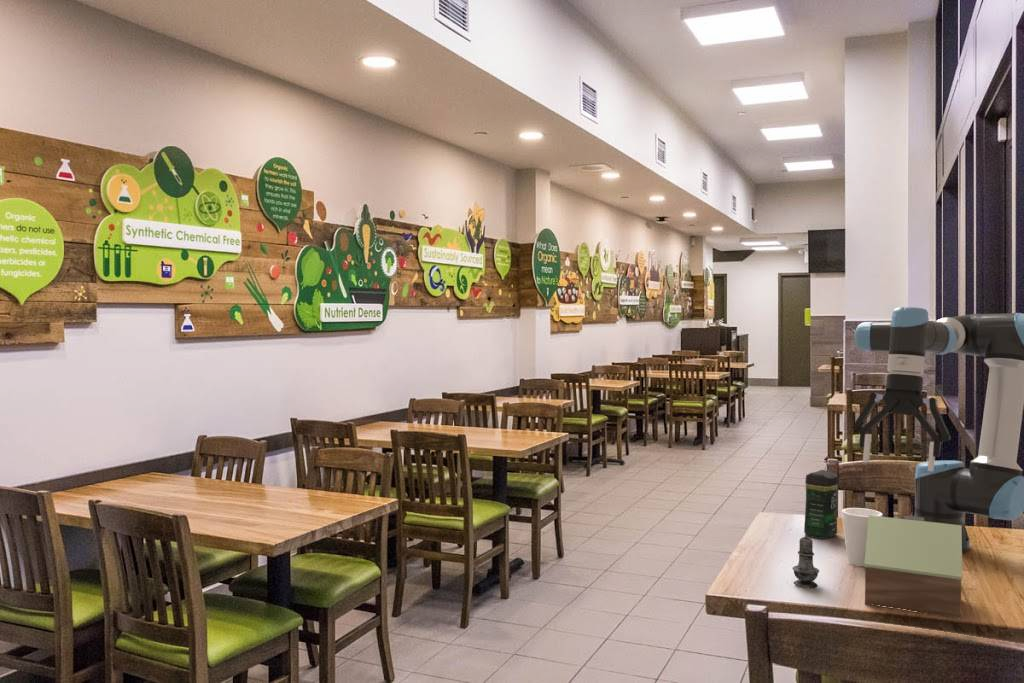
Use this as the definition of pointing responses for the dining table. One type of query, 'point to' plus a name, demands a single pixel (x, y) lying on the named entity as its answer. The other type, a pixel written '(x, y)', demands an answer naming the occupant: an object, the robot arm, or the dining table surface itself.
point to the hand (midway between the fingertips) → (897, 466)
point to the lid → (914, 546)
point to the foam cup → (856, 532)
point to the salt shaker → (805, 565)
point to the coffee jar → (821, 504)
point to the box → (913, 592)
